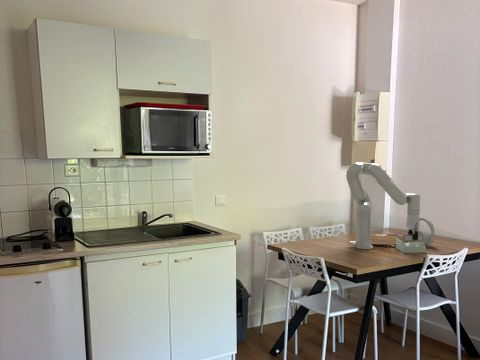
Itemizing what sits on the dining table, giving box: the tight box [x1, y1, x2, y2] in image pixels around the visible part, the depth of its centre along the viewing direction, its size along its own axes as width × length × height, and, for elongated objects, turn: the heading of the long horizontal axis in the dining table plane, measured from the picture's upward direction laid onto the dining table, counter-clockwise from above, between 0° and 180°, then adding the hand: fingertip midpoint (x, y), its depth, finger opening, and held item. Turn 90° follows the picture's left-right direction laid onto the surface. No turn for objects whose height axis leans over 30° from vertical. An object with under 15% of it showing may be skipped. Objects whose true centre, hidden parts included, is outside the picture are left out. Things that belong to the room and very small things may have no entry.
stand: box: [395, 238, 427, 254], centre depth 261 cm, size 12×15×7 cm
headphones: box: [413, 216, 435, 248], centre depth 275 cm, size 19×8×20 cm, turn 17°
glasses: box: [396, 233, 424, 243], centre depth 262 cm, size 13×13×4 cm
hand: (412, 238), depth 257 cm, fingers open, 7 cm apart
